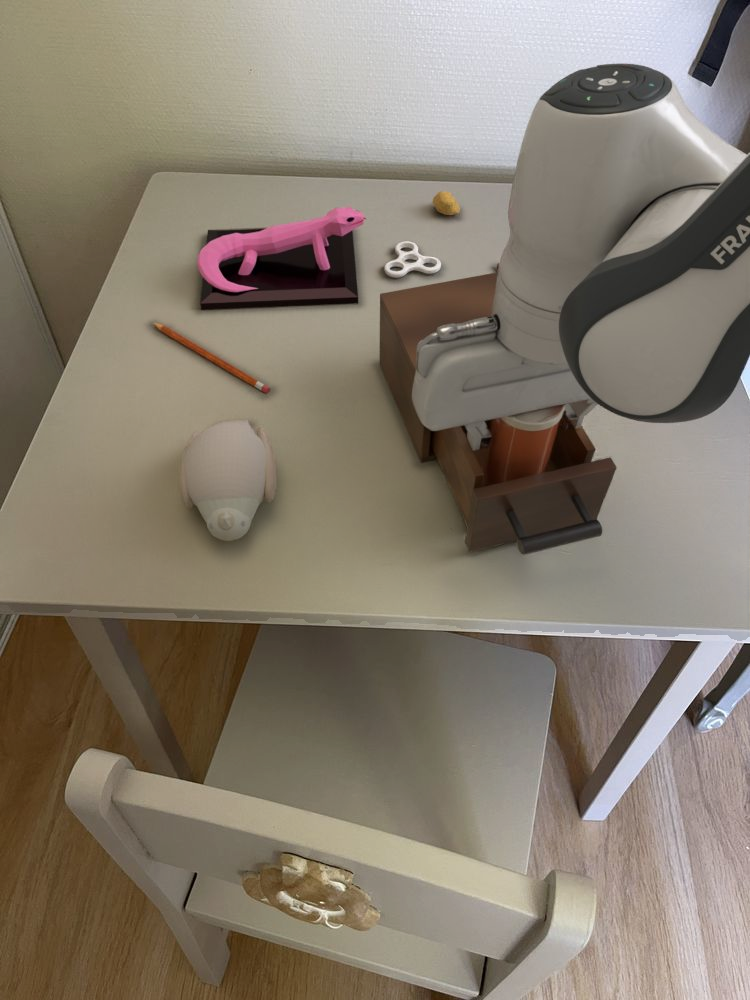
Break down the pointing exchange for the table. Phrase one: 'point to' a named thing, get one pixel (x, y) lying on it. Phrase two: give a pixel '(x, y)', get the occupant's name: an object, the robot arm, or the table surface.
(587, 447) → the drawer
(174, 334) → the pencil
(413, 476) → the table surface
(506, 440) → the tumbler
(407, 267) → the fidget spinner
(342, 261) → the dark display base
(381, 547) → the table surface
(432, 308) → the cabinet
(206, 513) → the decorative bird
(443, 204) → the rock
